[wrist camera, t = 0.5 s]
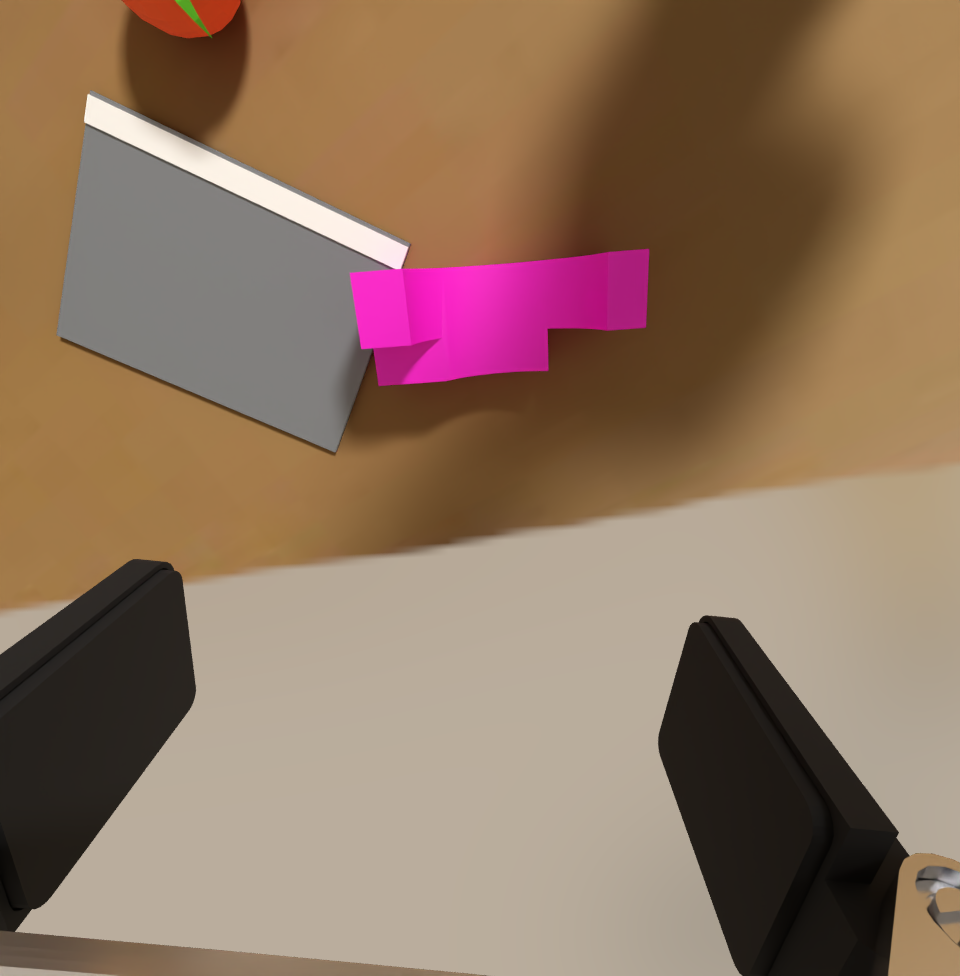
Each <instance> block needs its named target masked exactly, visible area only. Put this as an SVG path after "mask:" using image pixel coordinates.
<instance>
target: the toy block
mask: <svg viewBox="0 0 960 976" xmlns="http://www.w3.org/2000/svg"><path fill="white" fill-rule="evenodd" d="M648 268H649V249H641V250H628V251H616V252H606V253H600V254H594V255H586V256H579V257H570V258H561V259H551V260H541V261H531V262H520V263H508V264H495V265H482V266H467V267H451V268H429V269H391V270H379V271H366V272H354V273H350V278H351V285H352V292H353V298H354V305H355V311H356V318H357V324H358V331H359V337H360V344H361V349H370V348H373V350H374V357H375V364H376V371H377V378H378V385H379V386H386V385H400V384H413V383H427V382H441V381H449V380H453V379H458V378H464V377H470V376H477V375H485V374H494V373H505V372H521V371H548V330H547V329H551V328H584V329H599V330H606V331H609V330H622V329H635V328H646V315H647V291H648Z"/></svg>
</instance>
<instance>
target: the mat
mask: <svg viewBox="0 0 960 976" xmlns="http://www.w3.org/2000/svg"><path fill="white" fill-rule="evenodd" d="M84 122H85V123H86V125H85V133H84V140H83V147H82V154H81V162H80V169H79V176H78V183H77V191H76V198H75V205H74V212H73V220H72V227H71V234H70V241H69V248H68V256H67V263H66V270H65V277H64V285H63V292H62V299H61V306H60V314H59V321H58V328H57V335H58V336H60V337H62V338H65V339H67V340H69V341H72V342H74V343H77V344H79V345H81V346H84V347H86V348H88V349H91V350H93V351H96V352H98V353H100V354H103V355H105V356H107V357H110V358H112V359H115V360H117V361H119V362H122V363H124V364H126V365H129V366H131V367H134V368H136V369H138V370H141V371H143V372H145V373H148V374H150V375H153V376H155V377H157V378H160V379H162V380H164V381H167V382H169V383H171V384H174V385H176V386H179V387H181V388H183V389H186V390H188V391H190V392H193V393H195V394H198V395H200V396H202V397H205V398H207V399H209V400H212V401H214V402H217V403H219V404H221V405H224V406H226V407H228V408H231V409H233V410H236V411H238V412H240V413H243V414H245V415H247V416H250V417H252V418H255V419H257V420H259V421H262V422H264V423H266V424H269V425H271V426H274V427H276V428H278V429H281V430H283V431H285V432H288V433H290V434H293V435H295V436H297V437H300V438H302V439H304V440H307V441H309V442H312V443H314V444H316V445H319V446H321V447H323V448H326V449H328V450H331V451H333V452H336V451H337V449H338V447H339V444H340V441H341V438H342V435H343V433H344V430H345V427H346V424H347V421H348V419H349V416H350V413H351V410H352V407H353V405H354V402H355V399H356V396H357V394H358V391H359V388H360V385H361V382H362V380H363V377H364V374H365V371H366V368H367V366H368V363H369V360H370V357H371V354H372V352H373V348H370V349H361V344H360V337H359V331H358V324H357V318H356V311H355V305H354V298H353V292H352V285H351V278H350V273H354V272H366V271H379V270H391V269H402V268H403V265H404V262H405V260H406V257H407V254H408V251H409V249H410V246H411V244H410V243H408V242H406V241H404V240H402V239H400V238H398V237H396V236H393V235H391V234H389V233H387V232H385V231H383V230H381V229H379V228H377V227H375V226H373V225H371V224H368V223H366V222H364V221H362V220H360V219H358V218H356V217H354V216H352V215H350V214H348V213H346V212H343V211H341V210H339V209H337V208H335V207H333V206H331V205H329V204H327V203H325V202H323V201H321V200H318V199H316V198H314V197H312V196H310V195H308V194H306V193H304V192H302V191H300V190H298V189H296V188H294V187H291V186H289V185H287V184H285V183H283V182H281V181H279V180H277V179H275V178H273V177H271V176H269V175H266V174H264V173H262V172H260V171H258V170H256V169H254V168H252V167H250V166H248V165H246V164H244V163H241V162H239V161H237V160H235V159H233V158H231V157H229V156H227V155H225V154H223V153H221V152H219V151H216V150H214V149H212V148H210V147H208V146H206V145H204V144H202V143H200V142H198V141H196V140H194V139H191V138H189V137H187V136H185V135H183V134H181V133H179V132H177V131H175V130H173V129H171V128H169V127H166V126H164V125H162V124H160V123H158V122H156V121H154V120H152V119H150V118H148V117H146V116H144V115H141V114H139V113H137V112H135V111H133V110H131V109H129V108H127V107H125V106H123V105H121V104H119V103H116V102H114V101H112V100H110V99H108V98H106V97H104V96H102V95H100V94H98V93H96V92H94V91H91V90H90V95H89V94H88V96H87V104H86V111H85V118H84Z"/></svg>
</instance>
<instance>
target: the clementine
mask: <svg viewBox="0 0 960 976" xmlns="http://www.w3.org/2000/svg"><path fill="white" fill-rule="evenodd" d="M122 1H123V2H124V3H125V4H126V5H127V6H128V7H129V8H130V9H131V10H132V11H133V12H134V13H136V14H137V15H138V16H139V17H140V18H141V19H142V20H144V21H146V22H148V23H149V24H151V25H153V26H155V27H157V28H159V29H160V30H162V31H164V32H166V33H168V34H170V35H174V36H179V37H183V38H195V37H204V36H210V37H211V35H212V34H214V33H216V32H218V31H220V30H222V29H223V28H224V27H225V26H226V25H227V24H228V23H229V22H230V21H231V20H232V19H233V17H234V15H235V13H236V11H237V9H238V7H239V6H240V2H241V0H122ZM211 38H212V37H211Z"/></svg>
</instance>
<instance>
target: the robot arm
mask: <svg viewBox="0 0 960 976" xmlns="http://www.w3.org/2000/svg"><path fill="white" fill-rule="evenodd" d="M195 693H196V685H195V678H194V670H193V661H192V654H191V645H190V637H189V629H188V621H187V613H186V605H185V597H184V589H183V581H182V576H181V574H180V573H179V572H177V571H174V568H173V567H172V565H171V564H170V563H168V562H161V561H151V560H141V559H133V560H131V561H129V562H127V563H126V564H125V565H123V566H122V567H121V568H119V569H118V570H116V571H115V572H114V573H112V574H111V575H109V576H108V577H107V578H105V579H104V580H103V581H101V582H100V583H98V584H97V585H96V586H94V587H93V588H92V589H90V590H89V591H87V592H86V593H85V594H83V595H82V596H81V597H79V598H78V599H76V600H75V601H74V602H72V603H71V604H69V605H68V606H67V607H65V608H64V609H63V610H61V611H60V612H58V613H57V614H56V615H54V616H53V617H52V618H50V619H49V620H47V621H46V622H45V623H43V624H42V625H41V626H39V627H38V628H37V629H35V630H34V631H32V632H31V633H29V634H28V635H27V636H25V637H24V638H23V639H21V640H20V641H18V642H17V643H16V644H14V645H13V646H12V647H10V648H9V649H7V650H6V651H5V652H3V653H2V654H1V655H0V976H486V975H476V974H466V973H456V972H444V971H434V970H424V969H413V968H403V967H392V966H382V965H372V964H361V963H350V962H341V961H329V960H319V959H308V958H298V957H286V956H276V955H266V954H255V953H245V952H244V953H243V952H233V951H223V950H212V949H201V948H190V947H178V946H167V945H156V944H144V943H133V942H122V941H111V940H99V939H87V938H77V937H64V936H54V935H43V934H31V933H20V932H15V931H16V929H17V928H18V927H19V926H20V924H21V923H22V922H23V920H24V919H25V918H26V916H27V915H28V914H29V912H30V911H31V910H32V909H37V908H39V907H41V906H42V905H43V904H45V902H47V901H48V900H49V898H50V897H51V896H52V895H53V893H54V892H55V891H56V889H57V888H58V887H59V885H60V884H61V883H62V881H63V880H64V879H65V877H66V876H67V875H68V873H69V872H70V871H71V869H72V868H73V866H74V865H75V864H76V862H77V861H78V860H79V858H80V857H81V856H82V854H83V853H84V852H85V850H86V849H87V848H88V846H89V845H90V844H91V842H92V841H93V840H94V838H95V837H96V835H97V834H98V833H99V831H100V830H101V829H102V827H103V826H104V825H105V823H106V822H107V820H108V819H109V818H110V817H111V815H112V814H113V812H114V811H115V810H116V808H117V807H118V806H119V804H120V803H121V802H122V800H123V799H124V798H125V796H126V795H127V793H128V792H129V791H130V790H131V788H132V787H133V785H134V784H135V783H136V781H137V780H138V779H139V777H140V776H141V775H142V773H143V772H144V771H145V769H146V768H147V766H148V765H149V764H150V762H151V761H152V760H153V758H154V757H155V756H156V754H157V753H158V752H159V750H160V749H161V748H162V746H163V745H164V743H165V742H166V741H167V739H168V738H169V737H170V735H171V734H172V733H173V731H174V730H175V728H176V727H177V726H178V725H179V723H180V722H181V721H182V719H183V718H184V717H185V715H186V714H187V712H188V711H189V710H190V708H191V706H192V704H193V701H194V698H195ZM658 746H659V753H660V757H661V759H662V762H663V765H664V768H665V771H666V774H667V776H668V779H669V782H670V785H671V787H672V790H673V793H674V796H675V799H676V801H677V804H678V807H679V810H680V812H681V816H682V819H683V821H684V824H685V827H686V830H687V833H688V835H689V838H690V841H691V844H692V846H693V850H694V852H695V855H696V858H697V861H698V864H699V866H700V869H701V872H702V875H703V877H704V880H705V883H706V886H707V888H708V892H709V894H710V897H711V900H712V903H713V905H714V909H715V911H716V914H717V917H718V920H719V923H720V925H721V928H722V931H723V934H724V936H725V939H726V942H727V945H728V948H729V951H730V954H731V956H732V959H733V962H734V964H735V966H736V968H737V970H738V971H739V973H740V974H741V975H742V976H960V863H959V862H957V861H955V860H953V859H950V858H946V857H943V856H939V855H935V854H923V853H916V854H914V855H911V856H909V854H908V853H907V852H906V850H905V849H904V848H903V846H902V845H901V844H900V842H899V841H898V839H897V838H896V837H897V835H898V833H899V832H898V831H897V829H896V828H895V827H894V825H893V824H892V823H891V821H890V820H889V819H888V817H887V816H886V815H885V813H884V812H883V811H882V809H881V808H880V807H879V805H878V804H877V803H876V801H875V800H874V799H873V797H872V796H871V794H870V793H869V792H868V790H867V789H866V788H865V786H864V785H863V784H862V782H861V781H860V780H859V778H858V777H857V776H856V774H855V773H854V772H853V770H852V769H851V768H850V767H849V765H848V764H847V763H846V761H845V760H844V758H843V757H842V756H841V754H840V753H839V752H838V750H837V749H836V748H835V746H834V745H833V744H832V742H831V741H830V740H829V738H828V737H827V736H826V734H825V733H824V732H823V730H822V729H821V728H820V726H819V725H818V724H817V722H816V721H815V720H814V718H813V717H812V716H811V714H810V713H809V712H808V710H807V709H806V708H805V706H804V705H803V704H802V702H801V701H800V700H799V698H798V697H797V696H796V694H795V693H794V692H793V690H792V689H791V688H790V686H789V685H788V684H787V682H786V681H785V680H784V678H783V677H782V676H781V674H780V673H779V672H778V670H777V669H776V668H775V666H774V665H773V664H772V663H771V661H770V660H769V659H768V657H767V656H766V654H765V653H764V652H763V650H762V649H761V648H760V646H759V645H758V644H757V642H756V641H755V640H754V638H753V637H752V636H751V634H750V633H749V632H748V630H747V629H746V628H745V626H744V625H743V624H742V622H741V621H740V620H738V619H736V618H726V617H717V616H703V617H702V618H701V619H700V621H699V623H697V622H694V623H692V624H691V625H690V627H689V630H688V634H687V637H686V640H685V644H684V648H683V651H682V655H681V658H680V661H679V665H678V668H677V672H676V675H675V679H674V683H673V686H672V690H671V693H670V696H669V700H668V704H667V707H666V711H665V714H664V718H663V721H662V725H661V728H660V732H659V737H658Z"/></svg>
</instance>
